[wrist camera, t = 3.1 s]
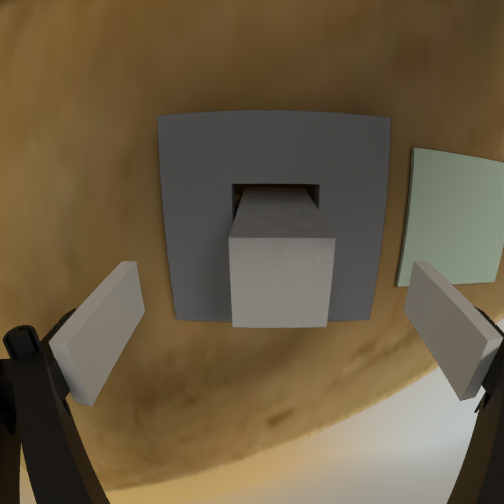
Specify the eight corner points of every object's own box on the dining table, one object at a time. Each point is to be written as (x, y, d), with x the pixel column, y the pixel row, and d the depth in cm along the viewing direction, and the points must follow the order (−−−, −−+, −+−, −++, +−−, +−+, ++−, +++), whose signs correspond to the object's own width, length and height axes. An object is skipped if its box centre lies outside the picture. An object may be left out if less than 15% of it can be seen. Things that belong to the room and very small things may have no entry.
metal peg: (244, 187, 24) (228, 237, 14) (304, 188, 24) (335, 238, 13) (245, 243, 26) (232, 327, 15) (302, 243, 26) (326, 327, 15)
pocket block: (167, 116, 22) (157, 115, 20) (378, 118, 22) (390, 117, 19) (182, 304, 28) (176, 319, 26) (361, 304, 28) (369, 319, 25)
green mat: (412, 147, 22) (414, 147, 22) (512, 164, 22) (516, 165, 21) (395, 284, 27) (397, 286, 26) (491, 280, 26) (494, 282, 26)
